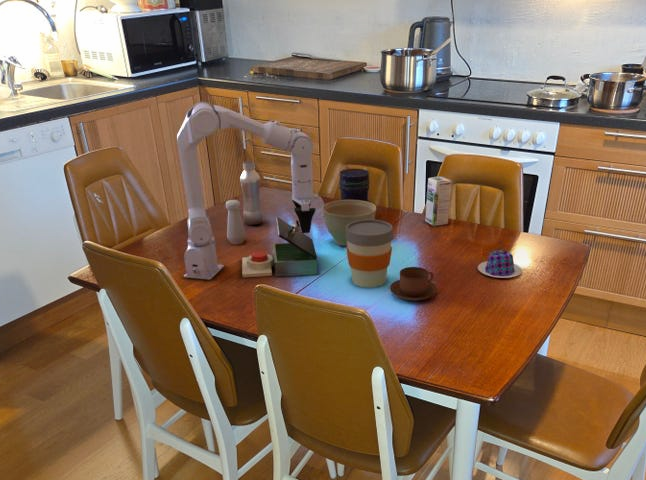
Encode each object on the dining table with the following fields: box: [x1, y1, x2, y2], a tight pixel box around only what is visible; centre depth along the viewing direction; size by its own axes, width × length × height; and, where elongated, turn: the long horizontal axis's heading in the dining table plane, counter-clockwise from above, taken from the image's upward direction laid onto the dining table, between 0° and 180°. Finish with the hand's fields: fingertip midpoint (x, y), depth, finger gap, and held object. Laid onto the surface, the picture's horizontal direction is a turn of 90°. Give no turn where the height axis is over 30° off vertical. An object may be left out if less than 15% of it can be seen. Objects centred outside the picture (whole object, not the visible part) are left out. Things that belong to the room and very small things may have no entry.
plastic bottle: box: [239, 160, 264, 226], centre depth 208 cm, size 6×7×20 cm
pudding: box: [477, 249, 523, 279], centre depth 177 cm, size 12×12×5 cm
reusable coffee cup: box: [345, 219, 394, 289], centre depth 170 cm, size 13×13×15 cm
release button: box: [250, 250, 268, 262], centre depth 180 cm, size 4×4×2 cm
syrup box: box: [424, 176, 452, 227], centre depth 209 cm, size 6×6×14 cm
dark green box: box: [272, 242, 318, 278], centre depth 181 cm, size 11×14×4 cm
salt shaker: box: [225, 199, 247, 245], centre depth 195 cm, size 6×6×13 cm
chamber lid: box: [275, 216, 318, 260], centre depth 178 cm, size 12×14×4 cm
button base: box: [241, 253, 274, 278], centre depth 181 cm, size 9×12×3 cm
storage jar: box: [338, 168, 370, 203], centre depth 214 cm, size 10×10×15 cm
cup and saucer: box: [389, 266, 438, 302], centre depth 164 cm, size 12×12×6 cm
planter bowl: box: [322, 199, 377, 247], centre depth 195 cm, size 16×16×11 cm
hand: (304, 227), depth 180 cm, fingers open, 7 cm apart
